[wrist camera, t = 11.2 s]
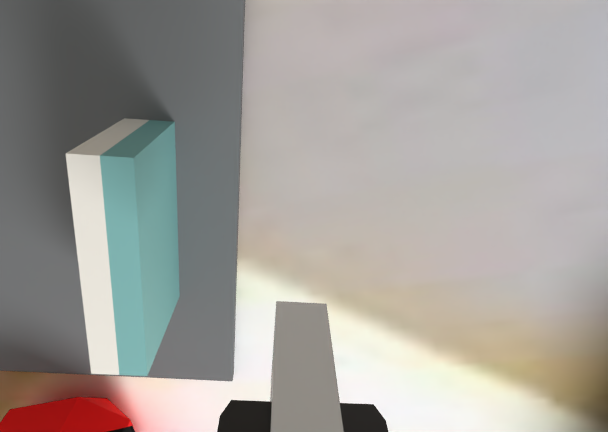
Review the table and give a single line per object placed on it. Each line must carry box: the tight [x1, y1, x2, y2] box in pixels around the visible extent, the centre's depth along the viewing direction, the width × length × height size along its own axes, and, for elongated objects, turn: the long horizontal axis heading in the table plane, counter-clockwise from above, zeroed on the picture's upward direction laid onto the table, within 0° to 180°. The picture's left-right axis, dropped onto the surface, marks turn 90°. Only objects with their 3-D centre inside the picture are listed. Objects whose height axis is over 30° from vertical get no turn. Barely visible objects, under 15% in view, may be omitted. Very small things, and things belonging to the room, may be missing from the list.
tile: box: [66, 118, 180, 376], centre depth 20 cm, size 9×2×6 cm, turn 176°
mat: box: [0, 0, 245, 381], centre depth 23 cm, size 20×14×1 cm
